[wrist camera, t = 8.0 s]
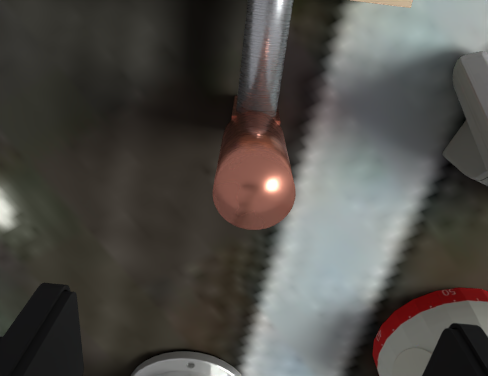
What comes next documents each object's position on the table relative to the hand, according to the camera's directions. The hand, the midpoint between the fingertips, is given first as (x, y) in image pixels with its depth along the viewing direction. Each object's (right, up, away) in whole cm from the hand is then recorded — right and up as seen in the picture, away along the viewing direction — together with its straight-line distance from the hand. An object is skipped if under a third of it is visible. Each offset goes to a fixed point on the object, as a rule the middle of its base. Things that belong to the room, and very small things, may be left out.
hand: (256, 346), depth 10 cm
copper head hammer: (+1, +16, +14) cm, 21 cm away
